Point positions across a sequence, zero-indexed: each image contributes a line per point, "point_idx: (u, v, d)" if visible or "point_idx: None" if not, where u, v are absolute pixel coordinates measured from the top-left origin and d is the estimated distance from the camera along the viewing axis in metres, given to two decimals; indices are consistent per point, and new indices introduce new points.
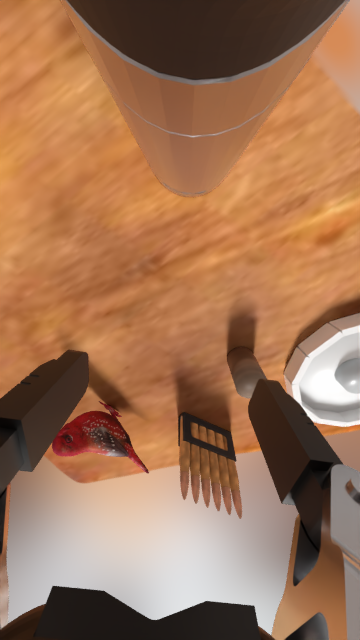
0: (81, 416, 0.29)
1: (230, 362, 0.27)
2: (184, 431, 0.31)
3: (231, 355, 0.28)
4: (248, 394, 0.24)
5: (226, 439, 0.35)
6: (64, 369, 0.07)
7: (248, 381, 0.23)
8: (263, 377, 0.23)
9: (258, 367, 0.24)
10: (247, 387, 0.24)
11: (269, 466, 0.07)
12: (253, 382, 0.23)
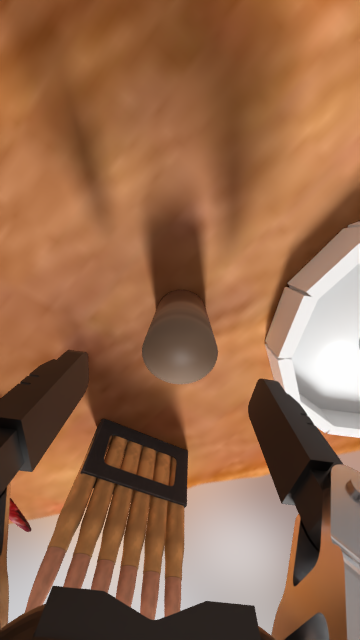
0: None
1: None
2: (89, 454, 0.17)
3: None
4: (175, 374, 0.11)
5: (176, 464, 0.21)
6: (64, 369, 0.07)
7: (167, 341, 0.10)
8: (201, 329, 0.09)
9: (197, 313, 0.11)
10: (168, 357, 0.10)
11: (269, 466, 0.07)
12: (179, 342, 0.10)
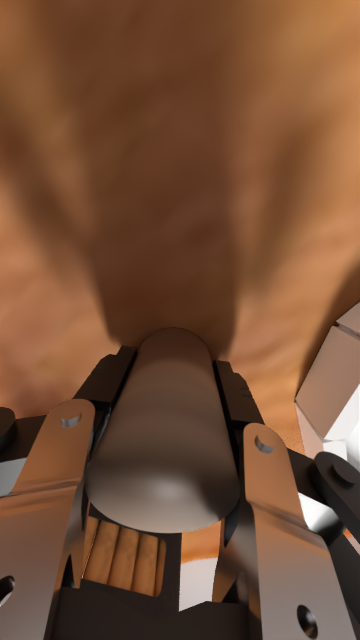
0: None
1: None
2: None
3: (138, 352, 0.09)
4: (154, 519, 0.05)
5: (165, 550, 0.15)
6: (126, 362, 0.08)
7: (136, 473, 0.05)
8: (208, 456, 0.04)
9: (199, 396, 0.06)
10: (140, 496, 0.05)
11: None
12: (161, 475, 0.05)
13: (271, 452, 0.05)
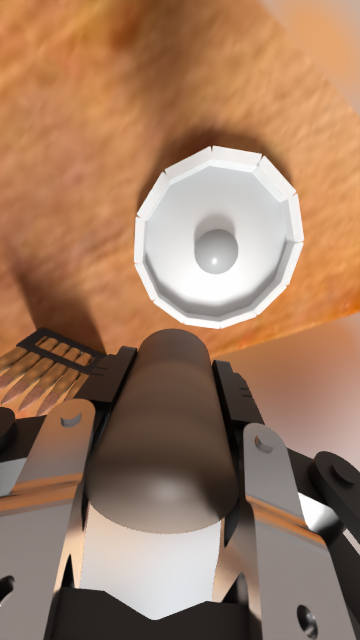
0: None
1: None
2: (25, 339, 0.26)
3: (137, 353, 0.09)
4: (153, 521, 0.05)
5: (94, 359, 0.29)
6: (126, 362, 0.08)
7: (134, 475, 0.05)
8: (206, 458, 0.04)
9: (198, 397, 0.06)
10: (138, 498, 0.05)
11: None
12: (160, 477, 0.05)
13: (271, 452, 0.05)
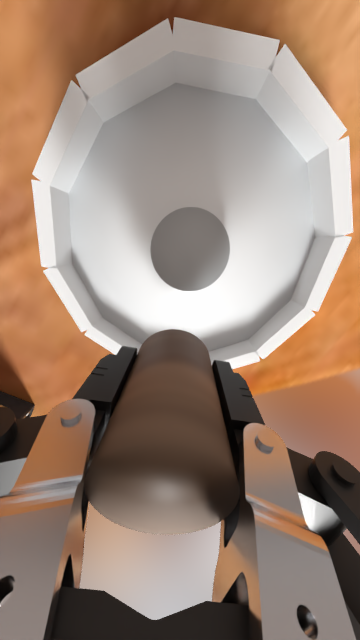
0: None
1: None
2: None
3: (138, 354, 0.09)
4: (154, 521, 0.05)
5: None
6: (126, 362, 0.08)
7: (135, 475, 0.05)
8: (207, 459, 0.04)
9: (198, 398, 0.06)
10: (139, 498, 0.05)
11: None
12: (161, 478, 0.05)
13: (271, 452, 0.05)
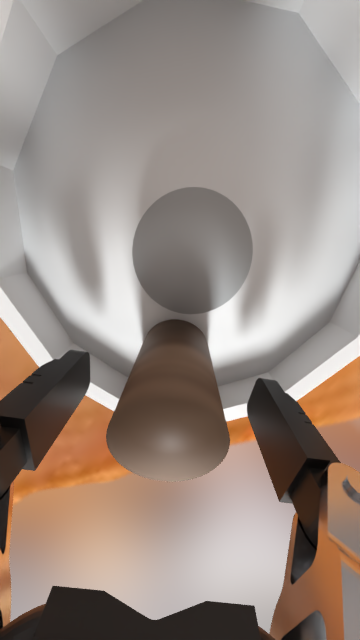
0: None
1: None
2: None
3: (144, 340, 0.10)
4: (161, 469, 0.07)
5: None
6: (66, 369, 0.07)
7: (147, 425, 0.06)
8: (204, 410, 0.06)
9: (197, 370, 0.07)
10: (150, 447, 0.06)
11: (267, 465, 0.07)
12: (167, 428, 0.06)
13: None
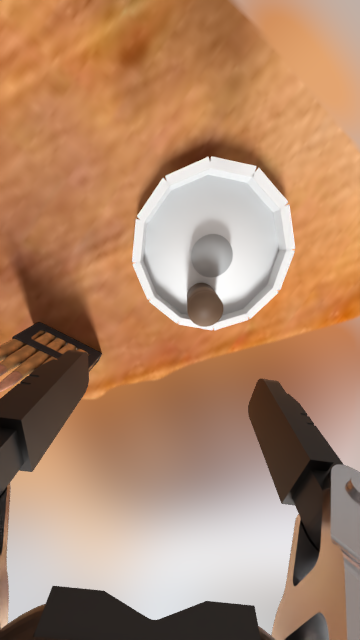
0: None
1: (187, 296, 0.25)
2: (21, 332, 0.26)
3: (189, 290, 0.25)
4: (202, 320, 0.22)
5: (88, 355, 0.29)
6: (64, 369, 0.07)
7: (200, 303, 0.21)
8: (216, 297, 0.21)
9: (213, 292, 0.22)
10: (200, 311, 0.21)
11: (269, 466, 0.07)
12: (206, 303, 0.21)
13: None
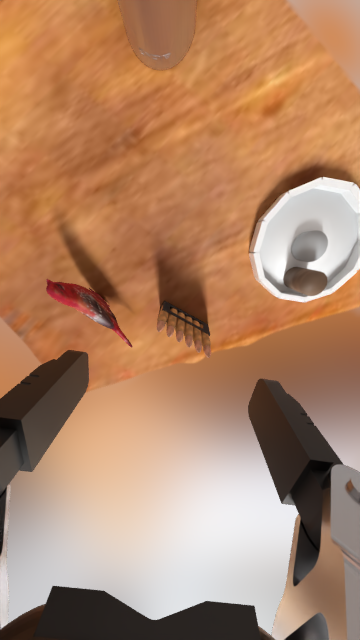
0: None
1: (289, 276, 0.34)
2: (163, 306, 0.35)
3: (289, 272, 0.35)
4: (310, 291, 0.31)
5: (203, 325, 0.39)
6: (64, 369, 0.07)
7: (311, 278, 0.30)
8: (323, 274, 0.30)
9: None
10: (310, 285, 0.30)
11: (269, 466, 0.07)
12: (315, 279, 0.30)
13: None
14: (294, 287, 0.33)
